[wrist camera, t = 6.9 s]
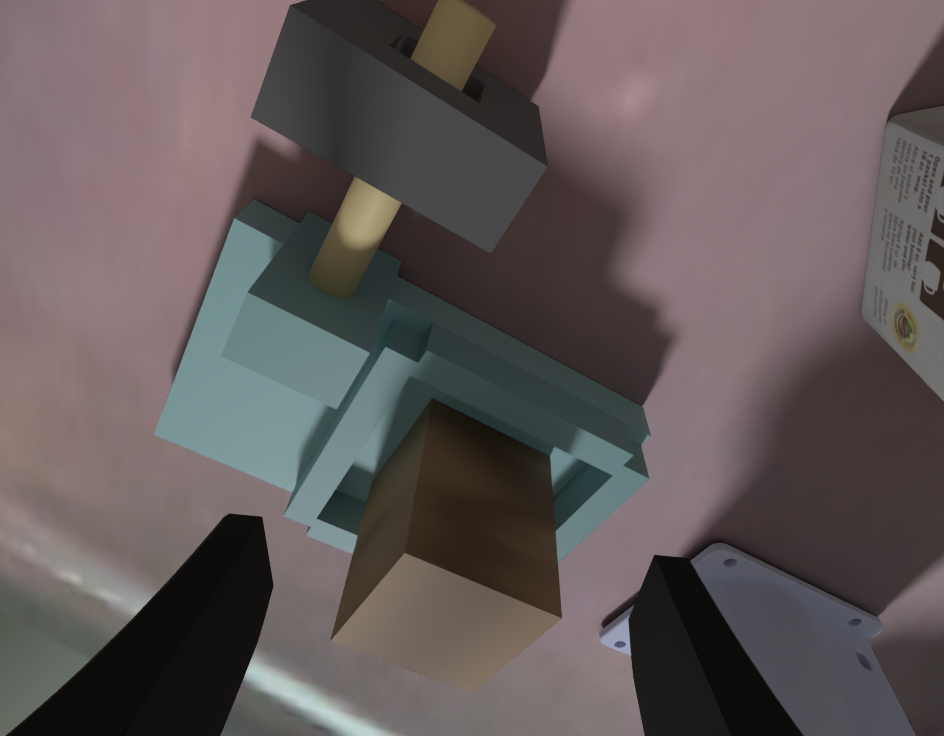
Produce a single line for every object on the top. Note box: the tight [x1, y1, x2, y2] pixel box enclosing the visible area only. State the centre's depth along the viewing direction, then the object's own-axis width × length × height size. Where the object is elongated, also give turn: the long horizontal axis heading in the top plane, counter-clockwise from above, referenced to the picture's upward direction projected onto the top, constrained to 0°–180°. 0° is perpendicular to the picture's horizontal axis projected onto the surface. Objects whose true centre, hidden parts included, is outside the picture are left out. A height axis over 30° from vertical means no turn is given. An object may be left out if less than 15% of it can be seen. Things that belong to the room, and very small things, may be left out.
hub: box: [251, 0, 548, 254], centre depth 13 cm, size 5×2×5 cm, turn 60°
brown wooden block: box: [330, 398, 562, 693], centre depth 19 cm, size 4×4×6 cm
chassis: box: [154, 0, 651, 563], centre depth 18 cm, size 14×16×5 cm
